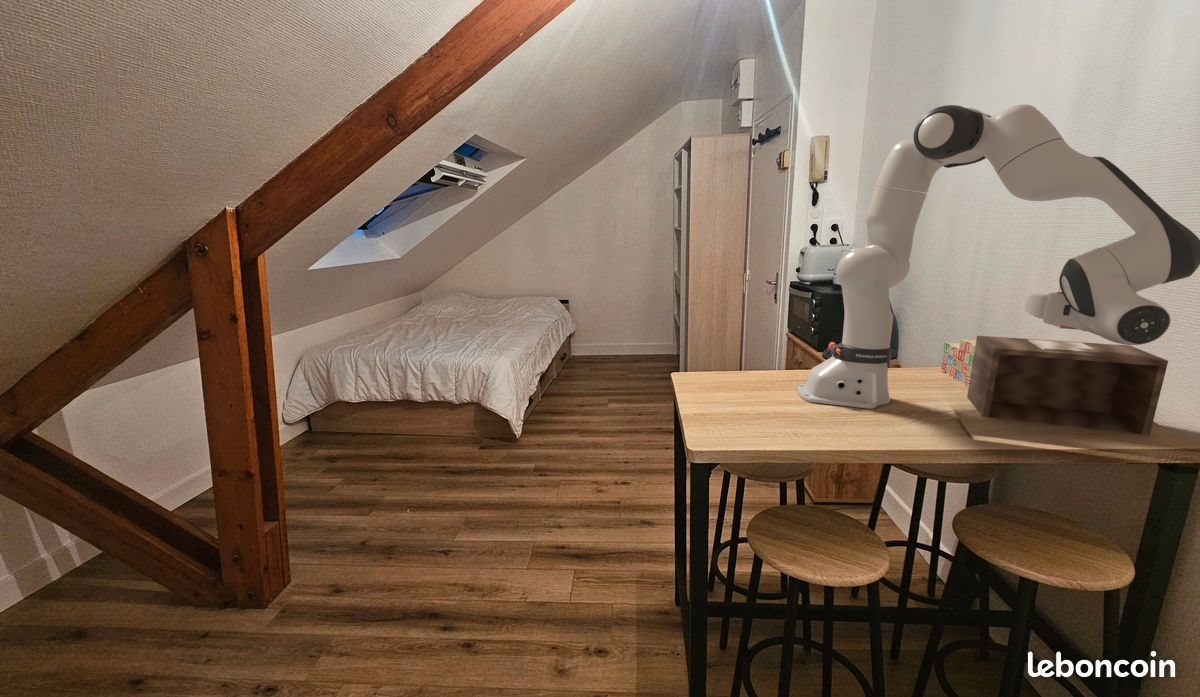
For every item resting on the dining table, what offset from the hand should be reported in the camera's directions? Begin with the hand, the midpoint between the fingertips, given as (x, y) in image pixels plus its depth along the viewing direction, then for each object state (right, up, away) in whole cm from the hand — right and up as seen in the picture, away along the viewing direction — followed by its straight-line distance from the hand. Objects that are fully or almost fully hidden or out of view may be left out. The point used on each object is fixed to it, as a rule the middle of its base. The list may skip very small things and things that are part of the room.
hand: (1073, 302), depth 116 cm
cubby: (0, -27, +7) cm, 28 cm away
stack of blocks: (+3, -20, +37) cm, 42 cm away
